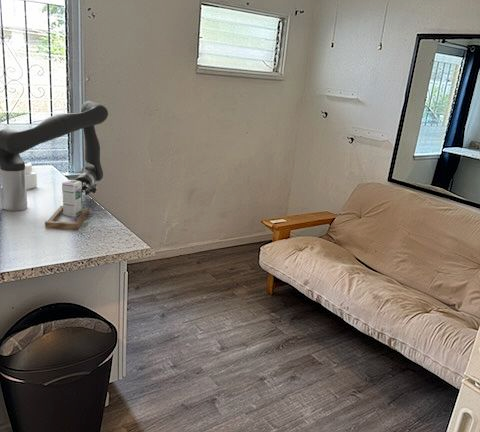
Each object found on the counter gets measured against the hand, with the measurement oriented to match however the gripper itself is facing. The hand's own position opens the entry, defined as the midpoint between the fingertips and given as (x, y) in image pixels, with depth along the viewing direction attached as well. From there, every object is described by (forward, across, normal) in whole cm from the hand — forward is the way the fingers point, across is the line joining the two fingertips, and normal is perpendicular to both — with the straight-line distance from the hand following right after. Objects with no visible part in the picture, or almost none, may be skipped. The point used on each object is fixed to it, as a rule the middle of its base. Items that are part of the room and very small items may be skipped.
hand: (75, 192), depth 192 cm
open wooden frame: (+13, +1, +8) cm, 15 cm away
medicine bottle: (-27, -30, +8) cm, 42 cm away
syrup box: (+6, 0, +8) cm, 10 cm away
